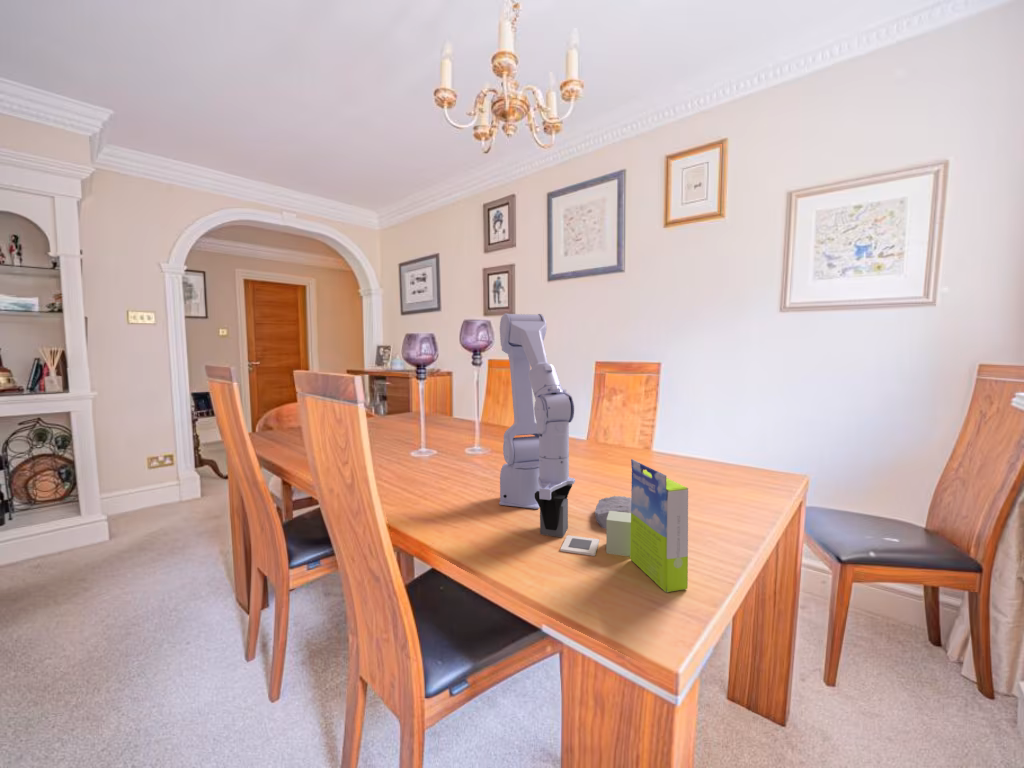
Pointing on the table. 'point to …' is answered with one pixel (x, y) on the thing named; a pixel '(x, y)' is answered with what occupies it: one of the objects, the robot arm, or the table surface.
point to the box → (659, 527)
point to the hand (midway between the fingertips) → (554, 524)
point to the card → (580, 545)
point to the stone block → (611, 508)
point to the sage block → (618, 533)
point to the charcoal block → (562, 522)
